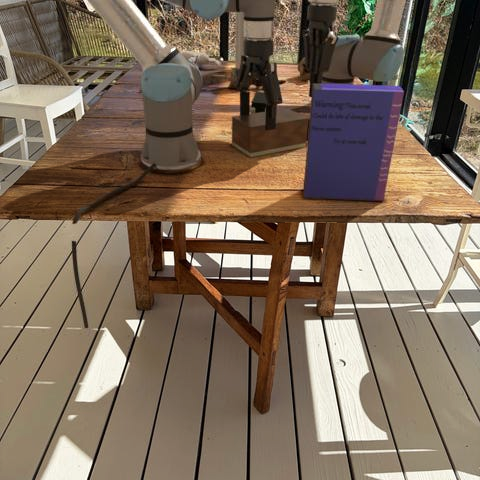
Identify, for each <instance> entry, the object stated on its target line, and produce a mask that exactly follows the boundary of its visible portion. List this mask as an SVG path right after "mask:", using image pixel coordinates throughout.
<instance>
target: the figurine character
mask: <svg viewBox="0 0 480 480" xmlns="http://www.w3.org/2000/svg"><path fill="white" fill-rule="evenodd" d="M267 103H268V102H267V99H266V96H265V94H264V91H255V92H254V95H253V97H252V99H251V101H250V114H253V113H259V112H266V104H267Z"/></svg>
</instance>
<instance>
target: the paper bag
mask: <svg viewBox="0 0 480 480" xmlns="http://www.w3.org/2000/svg"><path fill="white" fill-rule="evenodd" d="M243 34H244V12H235V59H234V60H235V62H234V63H235V65H234V66H235V67H234V68H237V69H239V68H240V64H241V56H242V55H244V40H245V39H246V38H245V37H244V36H243ZM269 63H271V56H270V57H269Z"/></svg>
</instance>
